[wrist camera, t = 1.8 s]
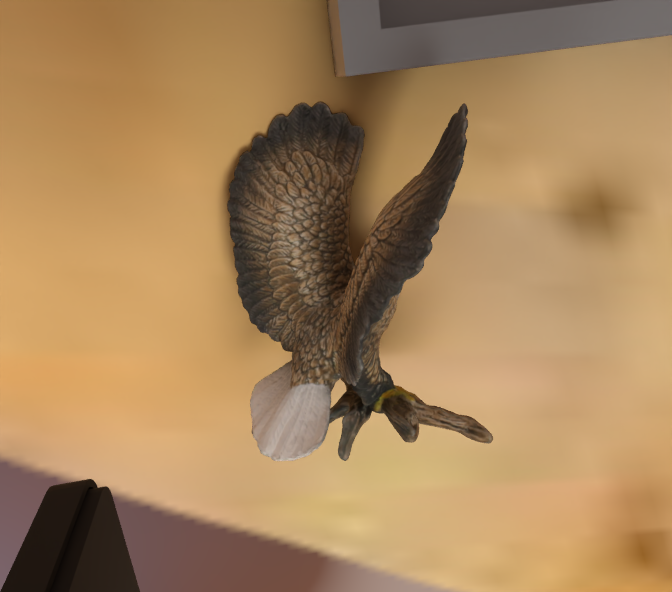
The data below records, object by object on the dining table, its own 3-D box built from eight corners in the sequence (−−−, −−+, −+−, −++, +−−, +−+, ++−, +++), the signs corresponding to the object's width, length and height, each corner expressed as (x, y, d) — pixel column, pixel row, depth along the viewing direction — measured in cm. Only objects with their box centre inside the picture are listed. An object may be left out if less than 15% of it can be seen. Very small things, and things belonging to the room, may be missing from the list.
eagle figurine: (521, 356, 21) (512, 74, 16) (463, 534, 15) (425, 189, 11) (314, 332, 24) (258, 92, 20) (209, 470, 19) (98, 186, 14)
